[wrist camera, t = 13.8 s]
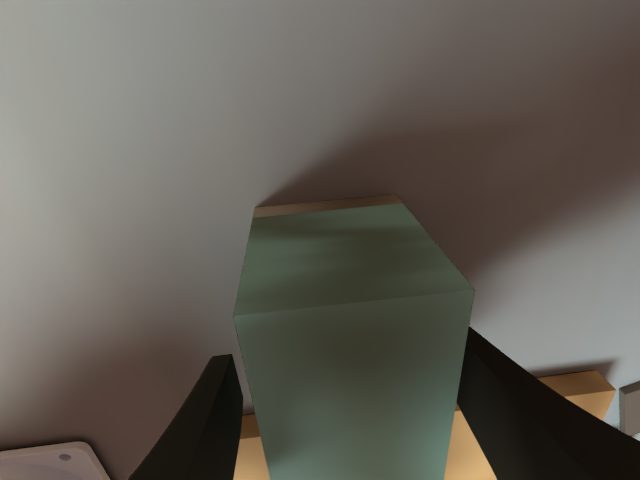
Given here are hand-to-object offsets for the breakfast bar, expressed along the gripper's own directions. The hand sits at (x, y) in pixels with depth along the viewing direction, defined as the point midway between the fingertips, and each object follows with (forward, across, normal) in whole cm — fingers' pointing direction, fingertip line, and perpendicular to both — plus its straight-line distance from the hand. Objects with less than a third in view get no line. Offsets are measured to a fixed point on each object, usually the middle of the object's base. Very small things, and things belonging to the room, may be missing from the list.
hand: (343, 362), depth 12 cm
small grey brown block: (+3, -16, +9) cm, 19 cm away
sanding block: (+3, 0, 0) cm, 3 cm away
